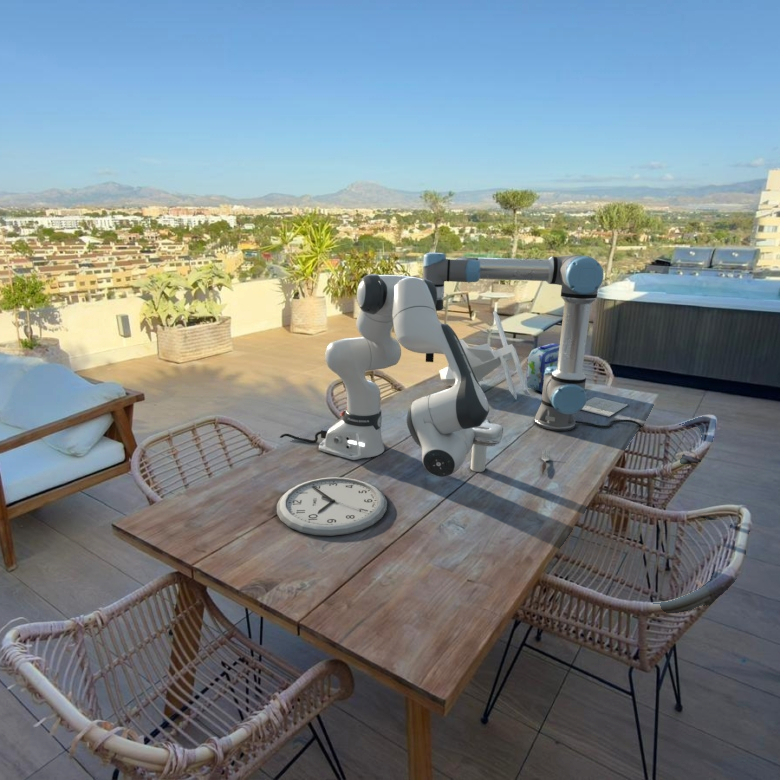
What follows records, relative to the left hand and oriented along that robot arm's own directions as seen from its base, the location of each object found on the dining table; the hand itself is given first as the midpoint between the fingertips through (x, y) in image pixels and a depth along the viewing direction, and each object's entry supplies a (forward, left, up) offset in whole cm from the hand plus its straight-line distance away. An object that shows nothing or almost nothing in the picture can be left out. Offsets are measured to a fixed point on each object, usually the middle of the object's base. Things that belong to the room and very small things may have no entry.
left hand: (467, 419), depth 139 cm
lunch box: (+13, +122, -24) cm, 126 cm away
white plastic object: (-15, +102, -24) cm, 106 cm away
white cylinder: (0, +22, -24) cm, 32 cm away
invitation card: (+38, +102, -24) cm, 112 cm away
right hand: (-25, +48, +4) cm, 54 cm away
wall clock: (-33, -16, -24) cm, 44 cm away
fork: (+20, +32, -24) cm, 45 cm away
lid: (0, +22, -8) cm, 23 cm away
